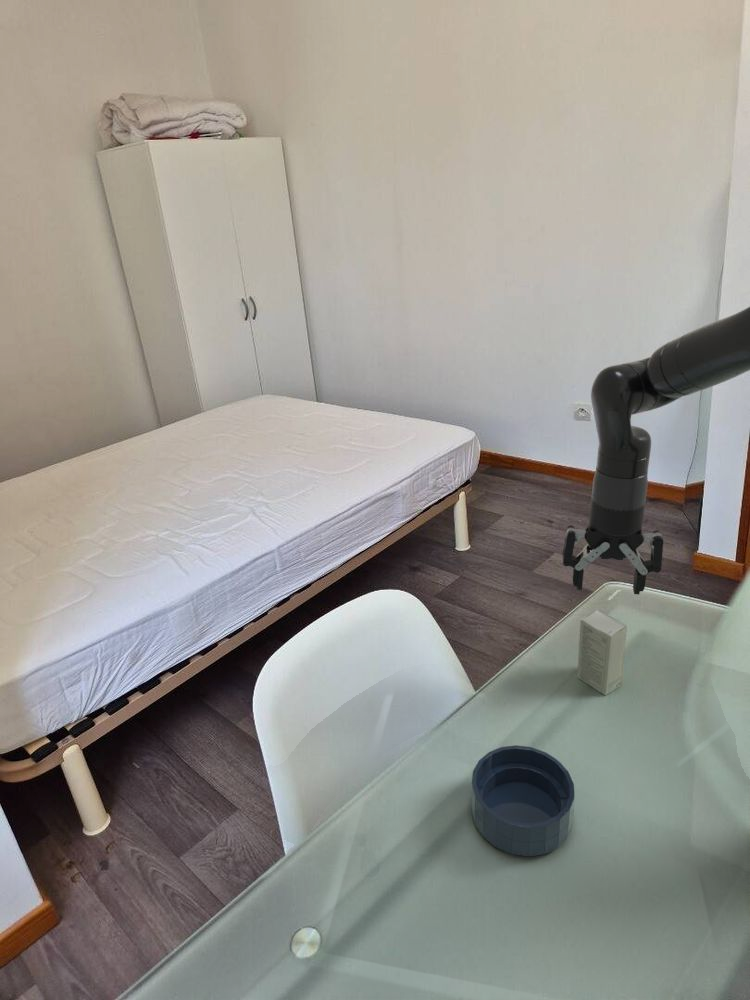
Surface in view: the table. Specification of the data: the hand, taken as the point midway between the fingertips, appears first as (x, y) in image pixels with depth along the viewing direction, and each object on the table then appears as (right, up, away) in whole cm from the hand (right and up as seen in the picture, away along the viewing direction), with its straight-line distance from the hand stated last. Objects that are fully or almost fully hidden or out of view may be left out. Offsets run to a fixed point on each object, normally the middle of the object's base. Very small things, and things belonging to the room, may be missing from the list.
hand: (607, 589), depth 108 cm
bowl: (-17, -29, -14) cm, 36 cm away
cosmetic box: (+1, -17, +8) cm, 19 cm away
